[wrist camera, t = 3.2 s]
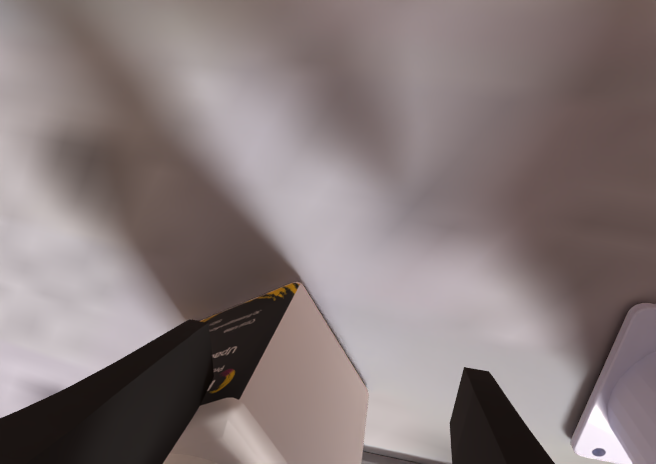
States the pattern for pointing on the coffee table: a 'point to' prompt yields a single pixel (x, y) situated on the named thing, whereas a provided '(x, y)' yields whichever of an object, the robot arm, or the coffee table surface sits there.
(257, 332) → the medicine box
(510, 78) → the coffee table surface
